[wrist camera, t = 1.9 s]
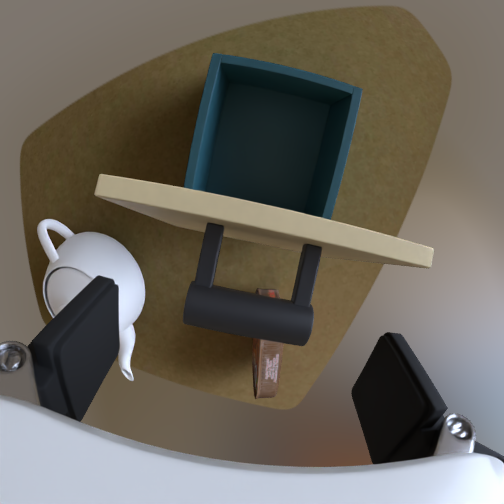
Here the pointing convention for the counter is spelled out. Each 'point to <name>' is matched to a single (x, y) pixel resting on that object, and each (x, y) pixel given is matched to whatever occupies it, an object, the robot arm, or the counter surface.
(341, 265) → the counter surface
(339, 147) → the teal open box
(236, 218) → the lid
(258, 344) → the tin
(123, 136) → the counter surface
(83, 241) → the teapot
